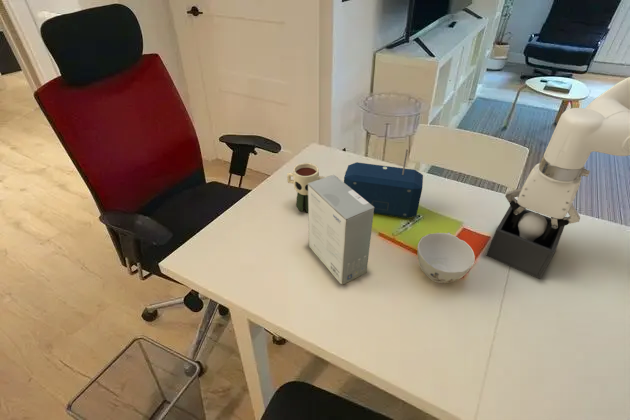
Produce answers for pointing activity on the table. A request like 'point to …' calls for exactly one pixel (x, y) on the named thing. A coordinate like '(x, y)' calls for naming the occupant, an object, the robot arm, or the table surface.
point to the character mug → (303, 182)
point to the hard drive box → (339, 227)
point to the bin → (523, 247)
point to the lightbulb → (532, 226)
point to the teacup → (444, 257)
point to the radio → (387, 187)
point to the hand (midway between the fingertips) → (529, 230)
